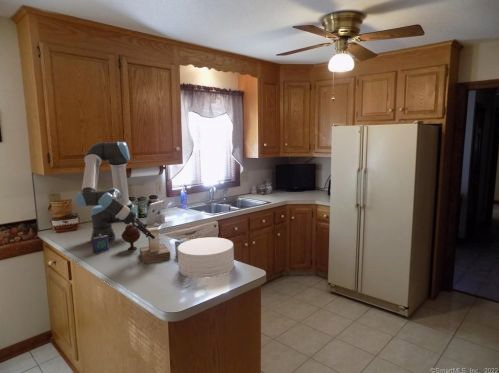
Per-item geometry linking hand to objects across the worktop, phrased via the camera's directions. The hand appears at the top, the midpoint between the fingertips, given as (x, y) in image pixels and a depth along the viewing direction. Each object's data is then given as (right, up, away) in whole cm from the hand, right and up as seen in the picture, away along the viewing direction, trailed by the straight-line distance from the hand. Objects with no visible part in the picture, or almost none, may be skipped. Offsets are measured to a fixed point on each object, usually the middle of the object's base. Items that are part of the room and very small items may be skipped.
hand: (156, 237), depth 191 cm
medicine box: (+15, -10, +3) cm, 18 cm away
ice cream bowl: (-19, -9, +15) cm, 26 cm away
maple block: (-1, -7, 0) cm, 7 cm away
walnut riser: (-1, -11, +1) cm, 11 cm away
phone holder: (-21, -1, +71) cm, 74 cm away
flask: (-36, -10, +12) cm, 39 cm away
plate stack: (+30, -13, -16) cm, 36 cm away
